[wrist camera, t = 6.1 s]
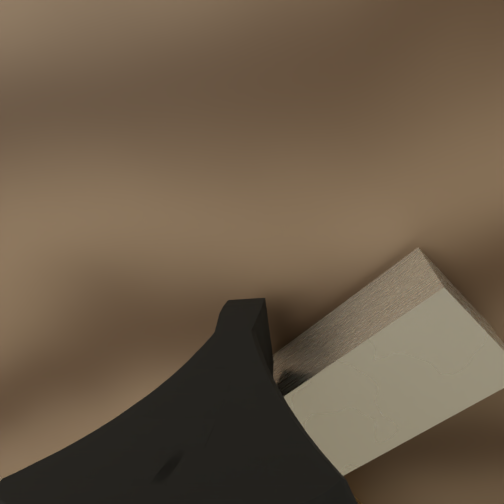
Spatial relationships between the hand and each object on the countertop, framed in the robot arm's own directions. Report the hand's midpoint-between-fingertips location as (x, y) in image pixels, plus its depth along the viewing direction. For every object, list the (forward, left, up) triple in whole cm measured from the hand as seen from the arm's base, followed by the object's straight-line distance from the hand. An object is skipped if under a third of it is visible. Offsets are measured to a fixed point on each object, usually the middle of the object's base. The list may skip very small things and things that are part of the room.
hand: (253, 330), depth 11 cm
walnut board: (0, +2, -2) cm, 3 cm away
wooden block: (-4, +2, -1) cm, 4 cm away
